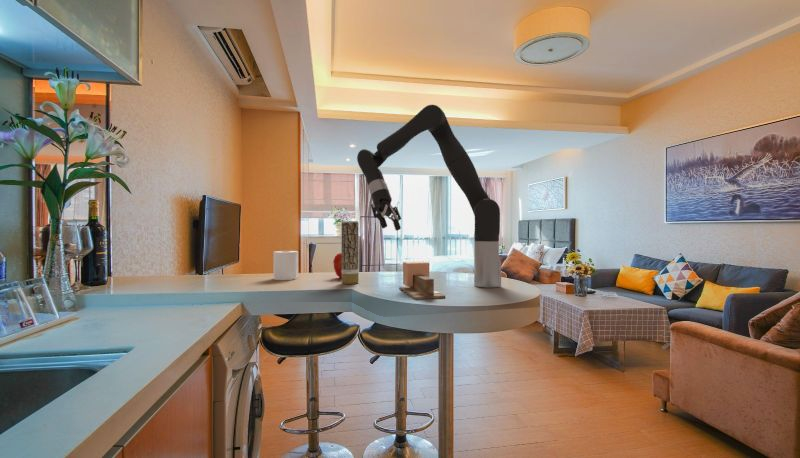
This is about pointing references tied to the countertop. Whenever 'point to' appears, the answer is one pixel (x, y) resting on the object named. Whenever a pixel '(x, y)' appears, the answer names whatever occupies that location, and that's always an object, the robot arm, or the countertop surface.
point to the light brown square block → (414, 271)
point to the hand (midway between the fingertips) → (391, 228)
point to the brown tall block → (350, 252)
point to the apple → (338, 264)
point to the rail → (422, 288)
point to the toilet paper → (285, 265)
